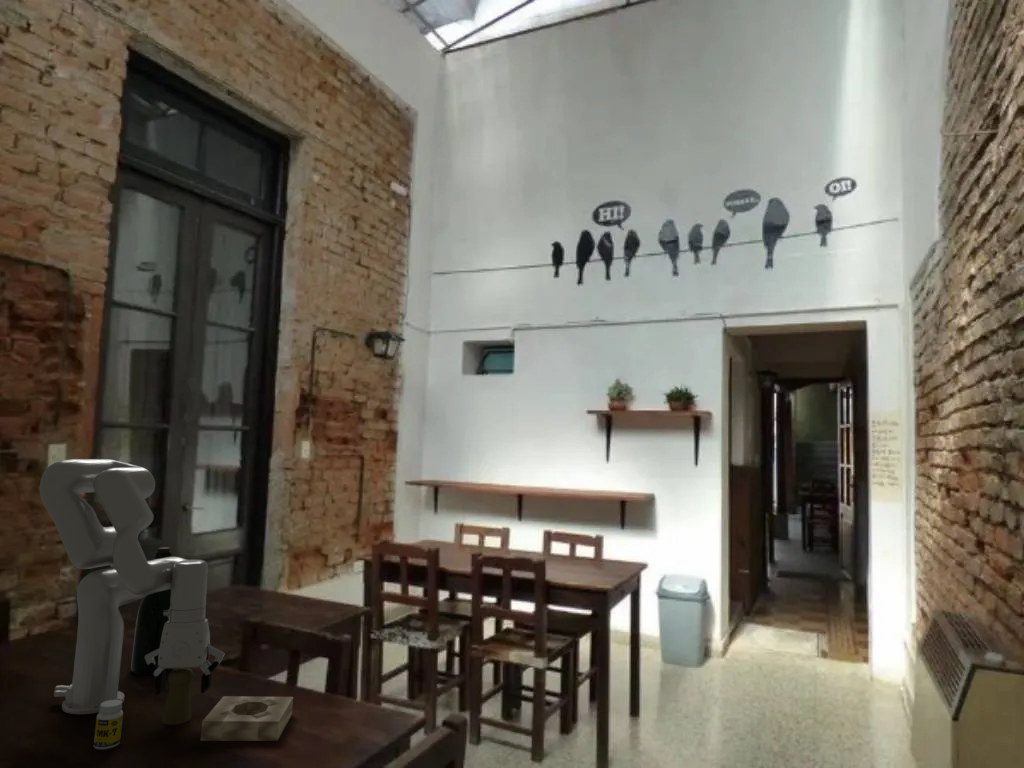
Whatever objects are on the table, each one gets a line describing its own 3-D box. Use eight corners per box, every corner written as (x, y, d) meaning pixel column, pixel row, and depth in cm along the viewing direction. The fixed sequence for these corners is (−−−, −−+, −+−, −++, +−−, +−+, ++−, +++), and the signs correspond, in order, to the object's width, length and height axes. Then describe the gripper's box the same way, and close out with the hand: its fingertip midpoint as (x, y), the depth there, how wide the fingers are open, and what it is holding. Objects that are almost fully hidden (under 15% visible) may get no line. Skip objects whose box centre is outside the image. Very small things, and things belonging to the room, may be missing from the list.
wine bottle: (162, 660, 188) (173, 543, 192) (180, 669, 182) (192, 548, 185) (123, 669, 180) (135, 546, 183) (141, 678, 174) (154, 551, 177)
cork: (197, 716, 152) (201, 667, 153) (176, 726, 147) (181, 675, 148) (177, 712, 154) (181, 663, 155) (155, 721, 149) (160, 671, 150)
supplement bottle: (91, 751, 133) (95, 708, 134) (95, 741, 138) (99, 700, 139) (118, 748, 135) (122, 705, 136) (121, 738, 140) (125, 697, 140)
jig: (200, 740, 140) (202, 721, 141) (222, 713, 154) (223, 696, 155) (277, 740, 142) (278, 721, 142) (291, 714, 156) (293, 696, 156)
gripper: (141, 619, 148) (135, 699, 146) (220, 618, 150) (216, 696, 148) (155, 611, 155) (150, 687, 154) (231, 610, 157) (227, 685, 155)
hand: (182, 691), depth 151 cm, fingers open, 9 cm apart
